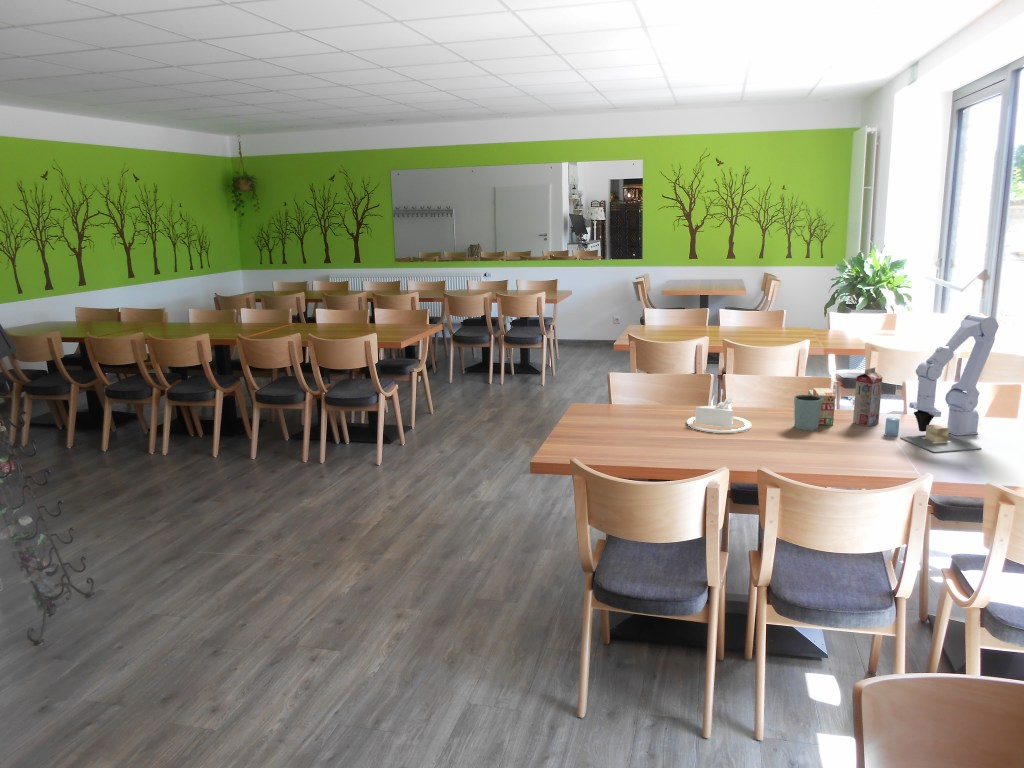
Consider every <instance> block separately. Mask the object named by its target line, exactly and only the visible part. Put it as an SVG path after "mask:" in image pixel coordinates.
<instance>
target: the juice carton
mask: <svg viewBox="0 0 1024 768" xmlns="http://www.w3.org/2000/svg"><path fill="white" fill-rule="evenodd" d="M855 378H856V380H855V391H854V393H855V394H854V403H853V404H854V405H853V420H852V423H853V424H855V423H856V425H860V424H861V426H864V425H866V426H865V427H872V426H874V424H875V425H878V424H879V422H880V421H879V420H880V410H881V409H880V408H881V401H882V400H881V397H882V386H883V385H882V384H883V376H882V375H881V374H879V373H878V372H876V367H871V368H867V369H865V370H864V373H863V374H859V375H857V376H856V377H855ZM877 423H878V424H877ZM871 425H872V426H871Z"/></svg>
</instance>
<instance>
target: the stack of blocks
mask: <svg viewBox="0 0 1024 768" xmlns="http://www.w3.org/2000/svg"><path fill="white" fill-rule="evenodd" d="M807 395H814V396H819V397H821V398H822V404H821V409H820V418H819V424H823V425H822V426H834V417H835V407H836V398H837V397H836V394H835V393H834V391H832V390H831V389H830V388H829V387H813V388H812V389H808V393H807ZM825 424H826V425H825Z"/></svg>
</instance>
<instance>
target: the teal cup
mask: <svg viewBox="0 0 1024 768" xmlns="http://www.w3.org/2000/svg"><path fill="white" fill-rule="evenodd" d="M793 399H794V403H793V406H794V410H793V411H794V415H793V416H794V428H795V427H796V428H795V429H797V428H798V429H797V430H800V429H802V430H801V431H807V430H812V431H816V429H817V430H818V429H819V426H820V425H819V418H820V409H821V404H822V398H821V397H819V396H814V395H808V394H799V395H794V397H793Z"/></svg>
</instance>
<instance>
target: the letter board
mask: <svg viewBox="0 0 1024 768" xmlns="http://www.w3.org/2000/svg"><path fill="white" fill-rule="evenodd" d="M900 440H903V441H906V442H908V443H910V444H912V445H915V446H917V447H919V448H922V449H924V450H926V451H929V452H931V453H933V454H939V453H940V454H941V453H942V454H943V453H954V452H964V451H965V452H966V451H967V452H968V451H977V450H976V449H981V450H982V447H979V446H978V445H974V444H971V443H969V442H967V441H964V440H961V439H959V438H957V437H954V436H951V435H949V434H948V441H946V442H933V441H931V440H928V439H926V434H923V435H910V436H900Z"/></svg>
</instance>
